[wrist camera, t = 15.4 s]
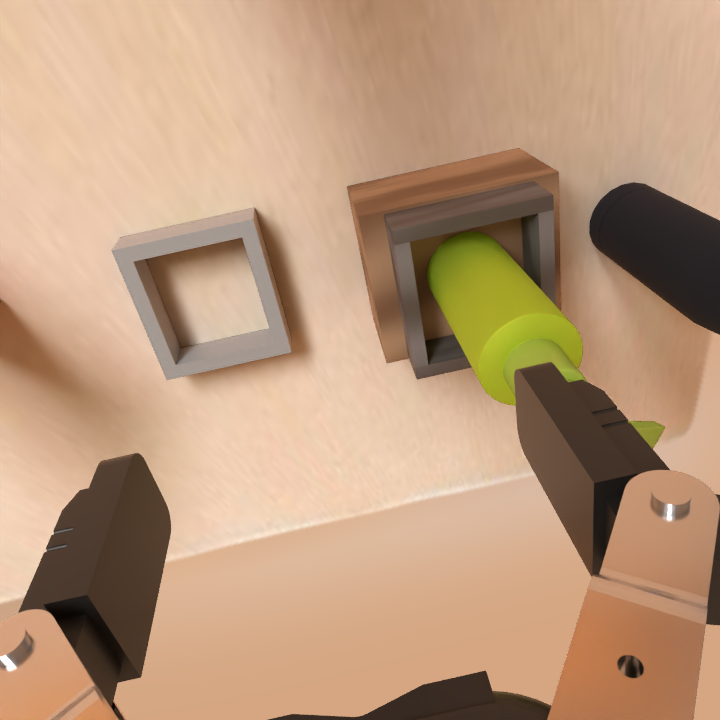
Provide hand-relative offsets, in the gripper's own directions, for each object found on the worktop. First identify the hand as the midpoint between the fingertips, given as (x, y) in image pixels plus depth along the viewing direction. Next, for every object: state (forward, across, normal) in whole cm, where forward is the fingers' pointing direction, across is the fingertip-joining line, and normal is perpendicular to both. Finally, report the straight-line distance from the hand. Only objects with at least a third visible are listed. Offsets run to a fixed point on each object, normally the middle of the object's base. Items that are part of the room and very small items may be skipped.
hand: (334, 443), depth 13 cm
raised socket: (+38, -10, +11) cm, 41 cm away
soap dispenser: (+30, -10, +11) cm, 34 cm away
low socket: (+38, +10, +11) cm, 41 cm away
